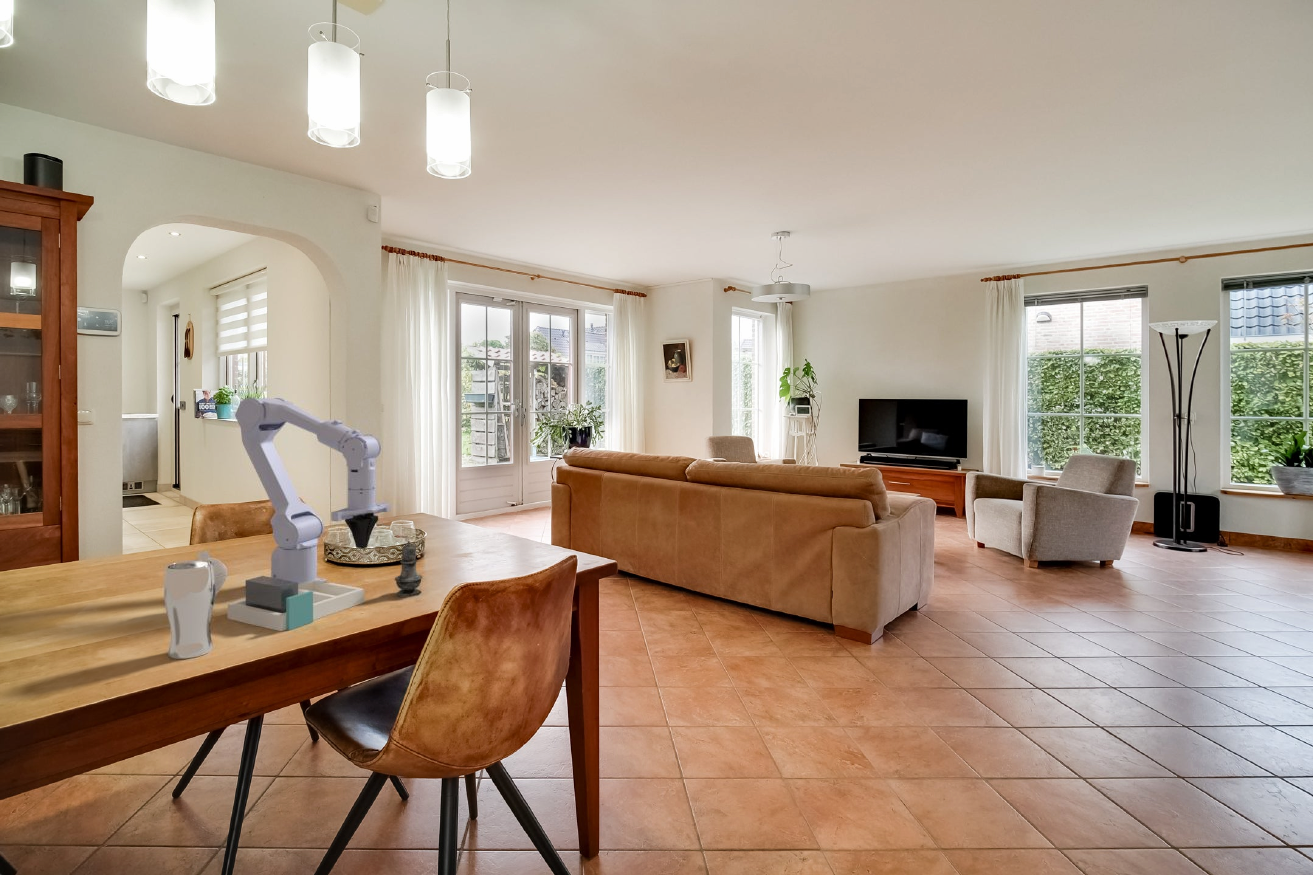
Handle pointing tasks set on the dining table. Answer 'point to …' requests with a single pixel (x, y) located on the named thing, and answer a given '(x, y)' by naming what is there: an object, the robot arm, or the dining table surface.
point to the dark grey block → (269, 593)
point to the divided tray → (300, 606)
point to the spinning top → (215, 569)
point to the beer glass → (190, 607)
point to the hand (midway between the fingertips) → (361, 547)
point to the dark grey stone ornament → (408, 573)
